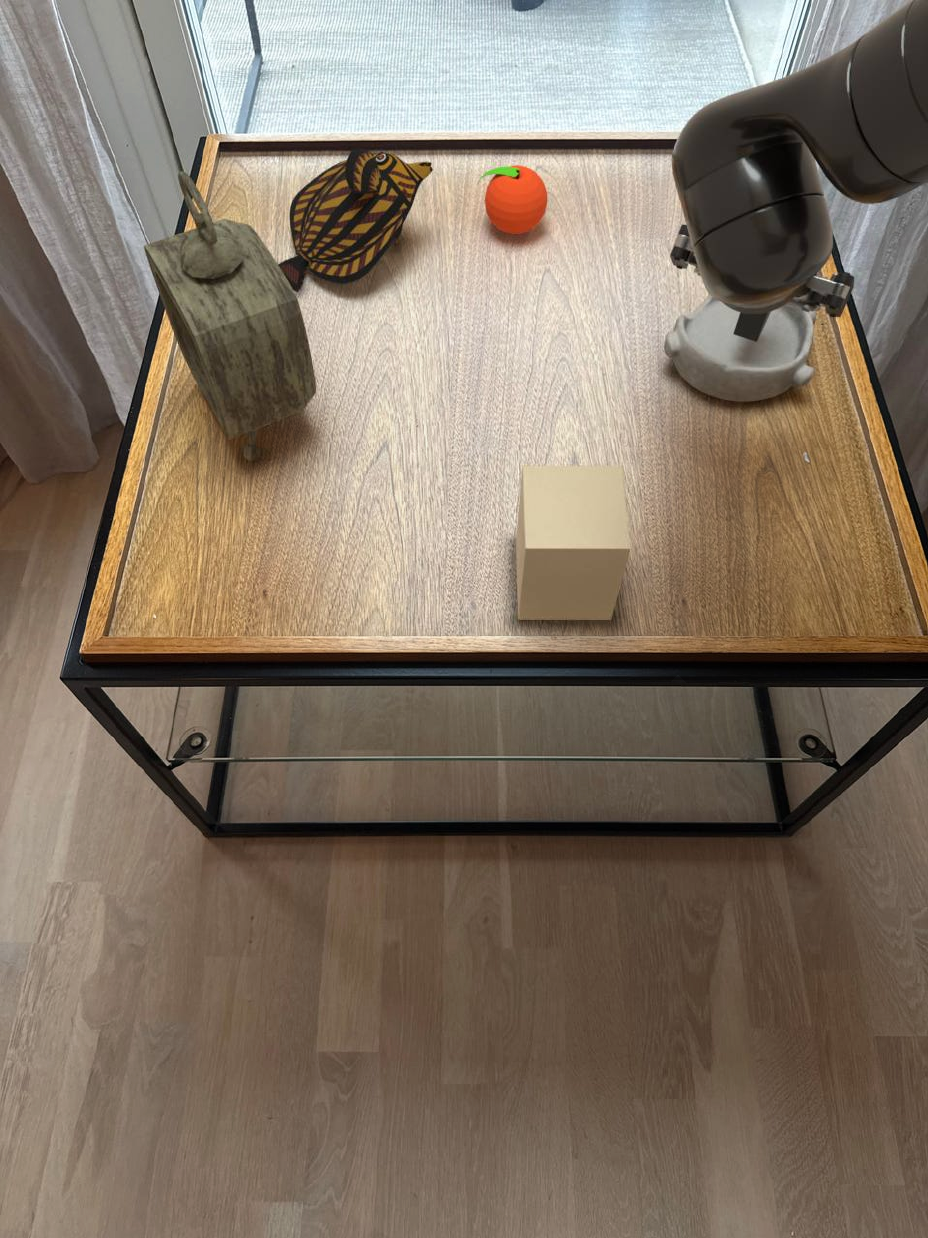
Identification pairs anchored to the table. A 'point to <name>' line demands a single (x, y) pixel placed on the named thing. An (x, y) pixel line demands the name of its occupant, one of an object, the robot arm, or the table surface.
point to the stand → (571, 542)
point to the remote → (750, 325)
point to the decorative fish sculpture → (351, 216)
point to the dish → (742, 352)
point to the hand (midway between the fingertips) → (762, 283)
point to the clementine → (515, 199)
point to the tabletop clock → (234, 321)
